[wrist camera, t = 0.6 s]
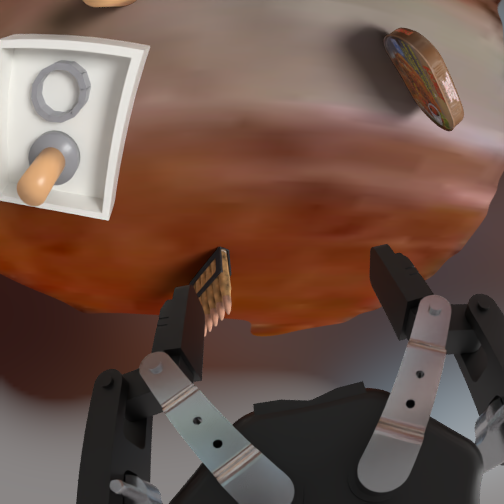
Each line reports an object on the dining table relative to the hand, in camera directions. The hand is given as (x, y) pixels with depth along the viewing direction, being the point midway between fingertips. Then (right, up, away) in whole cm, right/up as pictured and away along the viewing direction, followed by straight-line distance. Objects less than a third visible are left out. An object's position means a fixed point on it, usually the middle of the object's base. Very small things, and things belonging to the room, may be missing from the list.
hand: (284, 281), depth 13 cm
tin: (+19, +25, +17) cm, 36 cm away
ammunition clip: (-9, -1, +39) cm, 40 cm away
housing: (-25, +17, +16) cm, 34 cm away
